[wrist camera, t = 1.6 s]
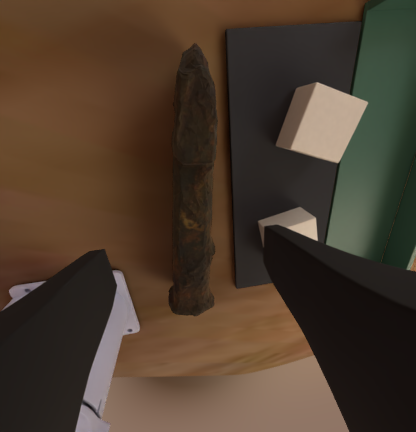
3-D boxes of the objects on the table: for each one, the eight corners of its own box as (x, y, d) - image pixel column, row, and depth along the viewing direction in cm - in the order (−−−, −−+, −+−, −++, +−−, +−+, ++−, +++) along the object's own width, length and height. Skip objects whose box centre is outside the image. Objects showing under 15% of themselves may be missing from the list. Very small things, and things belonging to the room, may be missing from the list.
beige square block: (265, 255, 20) (275, 271, 18) (257, 220, 19) (267, 233, 16) (304, 242, 20) (319, 256, 18) (299, 206, 19) (316, 217, 16)
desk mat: (235, 286, 22) (236, 289, 22) (225, 31, 13) (226, 28, 13) (316, 272, 23) (318, 275, 22) (357, 23, 14) (362, 20, 14)
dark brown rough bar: (208, 285, 21) (217, 324, 17) (169, 286, 21) (167, 328, 17) (233, 62, 14) (258, 35, 10) (172, 53, 13) (171, 20, 9)
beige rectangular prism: (274, 145, 16) (289, 149, 14) (295, 87, 15) (316, 81, 12) (318, 158, 17) (338, 163, 15) (342, 104, 16) (369, 102, 13)
